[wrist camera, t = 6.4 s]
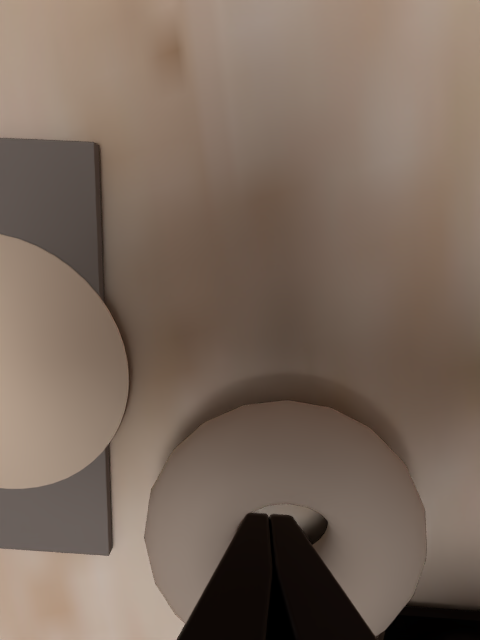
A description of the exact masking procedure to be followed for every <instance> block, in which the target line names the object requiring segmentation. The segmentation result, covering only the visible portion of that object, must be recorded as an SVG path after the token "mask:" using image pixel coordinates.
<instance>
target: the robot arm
mask: <svg viewBox="0 0 480 640" xmlns="http://www.w3.org/2000/svg"><path fill="white" fill-rule="evenodd" d="M177 640H480V612H479V611H465V610H451V609H437V608H423V607H409V606H405V607H404V608H403V609H402V610H401V611H400V613H399V614H398V615H397V616H396V618H395V619H394V620H393V621H392V623H391V624H390V625H389V626H388V628H387V629H386V630H385V631H383V632H382V633H380V634H379V639H377V638H376V637H375V635H374V634H373V632H372V631H371V629H370V628H369V626H368V625H367V624H366V622H365V621H364V619H363V618H362V616H361V615H360V613H359V612H358V611H357V609H356V608H355V606H354V605H353V603H352V602H351V600H350V599H349V598H348V596H347V595H346V593H345V592H344V590H343V589H342V587H341V586H340V585H339V583H338V582H337V580H336V579H335V577H334V576H333V575H332V573H331V572H330V570H329V569H328V567H327V566H326V564H325V563H324V562H323V560H322V559H321V557H320V556H319V554H318V553H317V551H316V550H315V549H314V547H313V546H312V544H311V543H310V541H309V540H308V538H307V537H306V536H305V534H304V533H303V531H302V530H301V528H300V527H299V525H298V524H297V523H296V521H295V520H294V518H293V517H292V516H290V515H278V514H272V515H270V517H268V515H267V514H262V513H247V514H246V515H245V517H244V519H243V520H242V522H241V524H240V526H239V528H238V529H237V531H236V533H235V535H234V537H233V539H232V540H231V542H230V544H229V546H228V548H227V549H226V551H225V553H224V555H223V557H222V558H221V560H220V562H219V564H218V566H217V568H216V569H215V571H214V573H213V575H212V577H211V578H210V580H209V582H208V584H207V586H206V587H205V589H204V591H203V593H202V595H201V597H200V598H199V600H198V602H197V604H196V606H195V607H194V609H193V611H192V613H191V615H190V616H189V618H188V620H187V622H186V624H185V626H184V627H183V629H182V631H181V633H180V635H179V636H178V638H177Z"/></svg>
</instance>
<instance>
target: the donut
mask: <svg viewBox="0 0 480 640" xmlns="http://www.w3.org/2000/svg"><path fill="white" fill-rule="evenodd" d="M278 504H293V505H299V506H305V507H308V508H310V509H312V510H314V511H316V512H318V513H320V514H321V515H322V516H323V517H324V518H326V519H327V521H328V526H327V530H326V532H325V533H324V534H323V536H322V537H321V539H319V540H318V541H317V542H316V543H314V544H313V545H312V546H313V547H314V549H315V550H316V551H317V553H318V554H319V556H320V557H321V559H322V560H323V562H324V563H325V564H326V566H327V567H328V569H329V570H330V572H331V573H332V575H333V576H334V577H335V579H336V580H337V582H338V583H339V585H340V586H341V587H342V589H343V590H344V592H345V593H346V595H347V596H348V598H349V599H350V600H351V602H352V603H353V605H354V606H355V608H356V609H357V611H358V612H359V613H360V615H361V616H362V618H363V619H364V621H365V622H366V624H367V625H368V626H369V628H370V629H371V631H372V632H373V634H374V635H375V637H376V636H377V635H379V634H380V633H382V632H383V631H385V630H386V629H387V628H388V626H389V625H390V624H391V623H392V621H393V620H394V619H395V618H396V616H397V615H398V614H399V613H400V611H401V610H402V609H403V608H404V607H405V605H406V604H407V603H408V602H409V600H410V599H411V598H412V596H413V595H414V593H415V590H416V587H417V584H418V581H419V578H420V575H421V573H422V570H423V567H424V564H425V561H426V552H427V544H426V518H425V509H424V506H423V504H422V501H421V499H420V496H419V494H418V492H417V490H416V487H415V485H414V483H413V481H412V478H411V476H410V474H409V472H408V469H407V467H406V465H405V463H404V462H403V461H402V460H401V459H400V458H399V457H398V456H397V455H396V454H395V453H394V452H393V451H392V450H391V449H390V448H389V447H388V446H387V445H386V444H385V443H384V441H383V440H382V439H381V438H380V437H379V436H378V435H377V434H376V433H375V432H374V431H373V430H372V429H370V428H369V427H368V426H366V425H364V424H362V423H360V422H358V421H356V420H354V419H352V418H350V417H348V416H346V415H344V414H342V413H341V412H339V411H337V410H335V409H333V408H330V407H325V406H319V405H313V404H307V403H302V402H296V401H290V400H283V401H274V402H266V403H257V404H249V405H243V406H240V407H238V408H236V409H233V410H231V411H229V412H227V413H224V414H222V415H220V416H217V417H215V418H213V419H211V420H208V421H206V422H204V423H203V424H202V425H201V426H200V427H198V428H197V429H196V430H195V431H194V432H193V433H192V434H191V435H190V436H188V437H187V438H186V439H185V440H184V441H183V442H182V443H181V444H179V445H178V446H177V447H176V448H175V449H174V450H173V452H172V453H171V455H170V456H169V458H168V460H167V462H166V463H165V465H164V467H163V469H162V471H161V473H160V474H159V476H158V478H157V480H156V482H155V484H154V485H153V487H152V489H151V493H150V499H149V506H148V514H147V521H146V528H145V536H144V539H145V543H146V547H147V552H148V556H149V560H150V564H151V569H152V573H153V577H154V580H155V584H156V585H157V587H158V589H159V590H160V592H161V593H162V595H163V596H164V598H165V599H166V601H167V602H168V604H169V605H170V607H171V609H172V610H173V612H174V613H175V615H176V616H177V617H178V618H180V619H181V620H182V621H183V622H184V623H185V624H186V622H187V620H188V618H189V616H190V615H191V613H192V611H193V609H194V607H195V606H196V604H197V602H198V600H199V598H200V597H201V595H202V593H203V591H204V589H205V587H206V586H207V584H208V582H209V580H210V578H211V577H212V575H213V573H214V571H215V569H216V568H217V566H218V564H219V562H220V560H221V558H222V557H223V555H224V553H225V551H226V549H227V548H228V546H229V544H230V542H231V540H232V539H233V537H234V535H235V533H236V531H237V527H238V525H239V524H240V522H241V520H242V519H244V517H245V515H246V514H247V513H251V512H253V511H256V510H258V509H261V508H263V507H266V506H269V505H278Z"/></svg>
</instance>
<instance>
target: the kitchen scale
mask: <svg viewBox="0 0 480 640" xmlns="http://www.w3.org/2000/svg"><path fill="white" fill-rule="evenodd" d="M128 390H129V371H128V360H127V356H126V351H125V347H124V343H123V340H122V337H121V335H120V332H119V329H118V327H117V325H116V323H115V321H114V319H113V317H112V315H111V313H110V311H109V309H108V308H107V307H106V305H105V304H104V285H103V255H102V226H101V196H100V167H99V145H98V144H96V143H94V142H81V141H59V140H37V139H15V138H0V548H3V549H18V550H32V551H47V552H61V553H76V554H90V555H104V556H109V554H110V552H111V550H112V521H111V492H110V462H109V442H110V441H111V440H112V438H113V437H114V435H115V433H116V431H117V429H118V427H119V425H120V423H121V420H122V417H123V415H124V412H125V408H126V403H127V398H128Z"/></svg>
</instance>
